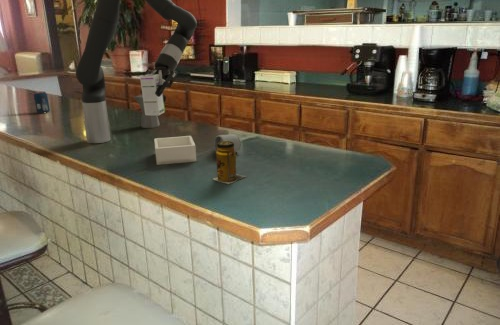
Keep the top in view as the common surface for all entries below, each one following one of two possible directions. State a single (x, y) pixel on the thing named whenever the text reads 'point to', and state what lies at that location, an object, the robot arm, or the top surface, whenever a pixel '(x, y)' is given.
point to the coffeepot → (147, 120)
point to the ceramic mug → (230, 138)
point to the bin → (175, 150)
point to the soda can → (41, 102)
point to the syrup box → (151, 95)
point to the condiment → (226, 163)
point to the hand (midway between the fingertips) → (149, 94)
